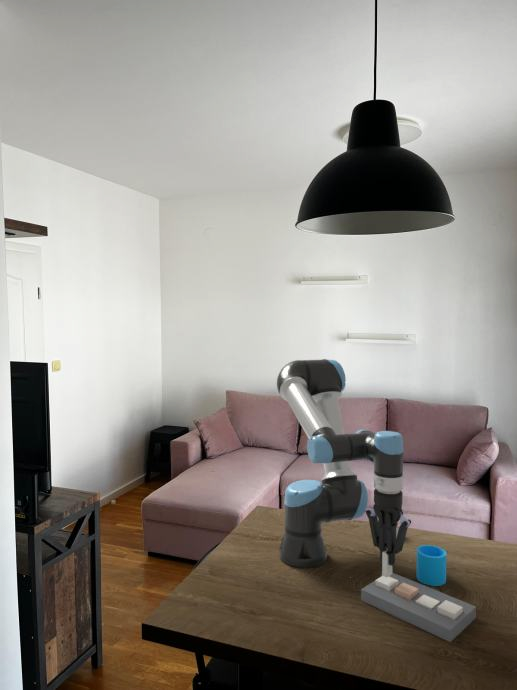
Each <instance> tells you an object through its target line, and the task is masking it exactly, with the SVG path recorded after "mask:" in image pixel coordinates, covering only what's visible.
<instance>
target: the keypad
mask: <svg viewBox="0 0 517 690" xmlns="http://www.w3.org/2000/svg"><path fill="white" fill-rule="evenodd" d="M389 577H391V578H394V579H396V580H398V586H399V585H401V584H402V583H406V584H408V585H411V586H413V587H416V588H418V595H417V596H416V597H414V598H413V599H412V600H407V599H405V598H403V597H401V596H398V595H396V594H395V589H393V590H392V591H390V592H389V591H387V590H385V589H382V588H380V587H378V586H375V580H374V581H372V582H370V583H369V584H368V585H366V586H364V587H363V588H361V589H360V601H361V602H364V603H366V604H368V605H370V606H372V607H374V608H377V609H378V610H381V611H383V612H385V613H386V614H390V615H391V616H393V617H396V618H397V619H400V620H402V621H404V622H406V623H407V624H411V625H412V626H415V627H416V628H419V629H422V630H423V631H425V632H428V633H429V634H432V635H434V636H436V637H438V638H440V639H442V640H444V641H446V642H449V643H452V641H453V640H455V638H457V636H458V635H459V634H461V633H462V632H463V631H464V630H465V629H466V628H467V627H468V626H469V625H470V624H471V623H472V622H473V621H475V620H476V618H477V606H476V605H473V604H470V603H468V602H466V601H463V600H461V599H458V598H456V597H453V596H450V595H448V594H445V593H443V592H441V591H439V590H436V589H434V588H431V587H429V586H427V585H425V584H423V583H422V584H421V583H419V582H417V581H414V580H411V579H409V578H407V577H404V576H401V575H400V574H396V573H394V572H392V575H390V576H389ZM423 595H426V596H428V597H431V598H433V599H436V600H438V601H440V604H442V603H443V602H444V601H445V600H447V601H449V602H452V603H454V604H457V605H459V606H462V607H463V614H462V615H460V616H459V617H458V618H457V619H456V620H453V619H451V618H449V617H446V616H444V615H442V614H439V613H437V607H438V606H439V605H440V604H439V605H438V606H436V607H435V608H434V609H433V610H430V609H428V608H426V607H423V606H421V605H419V604H417V603H415V601H416V600H417V599H419V598H420V597H421V596H423Z"/></svg>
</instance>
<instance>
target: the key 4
mask: <svg viewBox="0 0 517 690" xmlns="http://www.w3.org/2000/svg"><path fill="white" fill-rule="evenodd" d="M437 613H439V614H442V615H444V616H446V617H449V618H451V619H453V620H456V619H457V618H458V617H459V616H460V615H462V614H463V607H462V606H459V605H457V604H454V603H452V602H449V601H447V600H445V601H444V602H443V603H442V604H440V605H439V606H438V607H437Z"/></svg>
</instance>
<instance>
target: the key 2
mask: <svg viewBox="0 0 517 690" xmlns="http://www.w3.org/2000/svg"><path fill="white" fill-rule="evenodd" d="M395 594H396V595H398V596H401V597H403V598H405V599H407V600H412V599H413V598H414V597H416V596H417V595H418V588H416V587H413V586H411V585H408V584H406V583H402V584H401V585H399V586H398V587H396V588H395Z"/></svg>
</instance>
